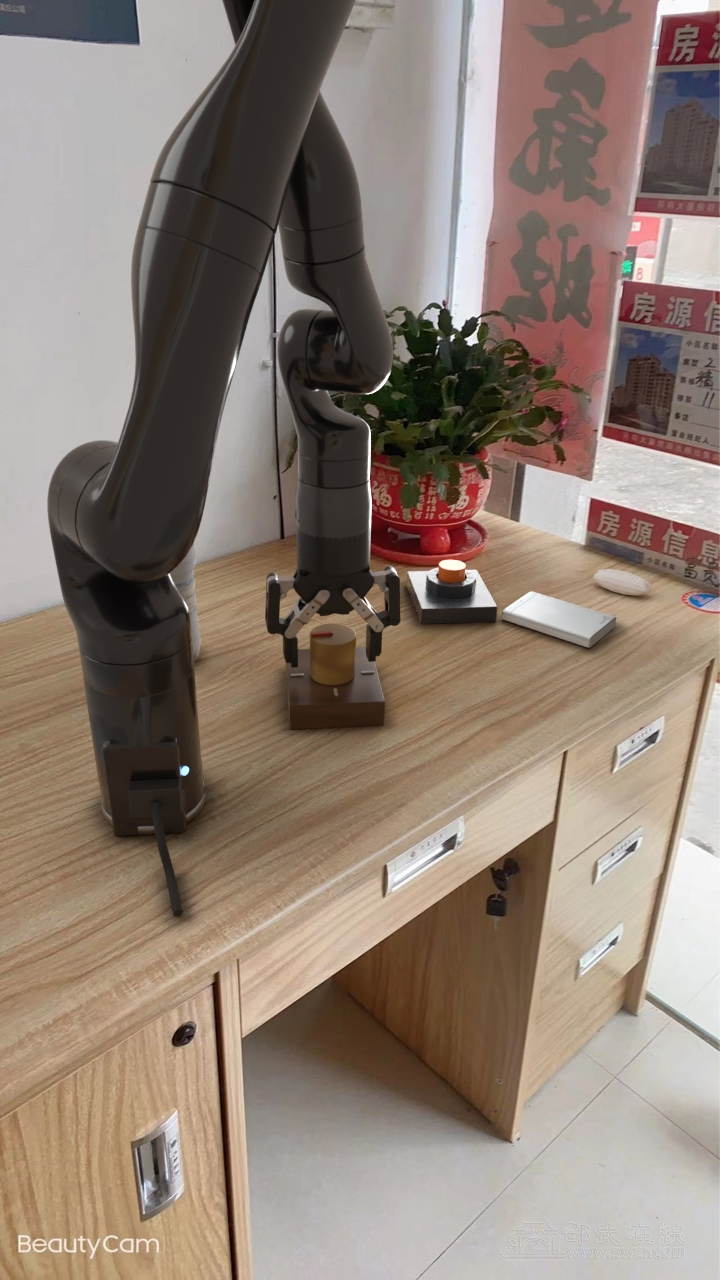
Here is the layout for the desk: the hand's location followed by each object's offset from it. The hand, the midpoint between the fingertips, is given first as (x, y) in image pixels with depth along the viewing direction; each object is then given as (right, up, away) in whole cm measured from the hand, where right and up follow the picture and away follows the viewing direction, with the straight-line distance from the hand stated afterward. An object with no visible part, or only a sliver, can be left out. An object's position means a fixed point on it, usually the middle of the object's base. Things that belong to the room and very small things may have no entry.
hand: (332, 661), depth 96 cm
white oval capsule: (+40, +9, +29) cm, 50 cm away
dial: (0, -1, +1) cm, 2 cm away
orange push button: (+15, +11, +23) cm, 29 cm away
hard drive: (+29, +4, +20) cm, 35 cm away
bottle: (-19, 0, +9) cm, 21 cm away
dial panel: (0, -4, +2) cm, 5 cm away
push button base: (+15, +7, +24) cm, 30 cm away
